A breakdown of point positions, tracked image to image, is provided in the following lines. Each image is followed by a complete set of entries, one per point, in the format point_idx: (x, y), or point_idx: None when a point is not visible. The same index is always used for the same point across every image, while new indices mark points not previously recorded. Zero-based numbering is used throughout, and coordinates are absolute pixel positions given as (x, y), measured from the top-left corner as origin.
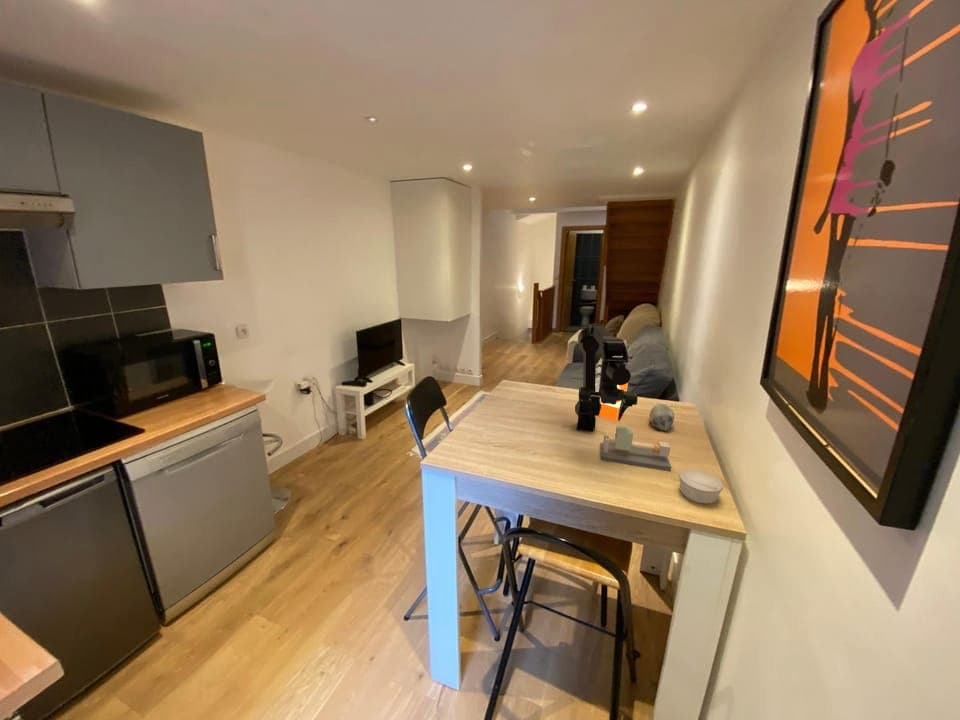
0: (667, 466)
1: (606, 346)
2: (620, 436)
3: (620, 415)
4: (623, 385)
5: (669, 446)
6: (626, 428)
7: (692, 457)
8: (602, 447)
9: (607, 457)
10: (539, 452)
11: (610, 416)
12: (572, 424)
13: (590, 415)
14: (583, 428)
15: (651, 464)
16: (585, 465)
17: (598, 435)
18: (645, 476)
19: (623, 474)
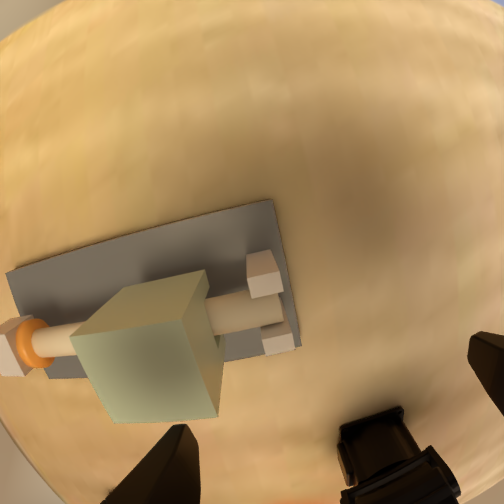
0: (12, 271)
1: None
2: (163, 307)
3: (147, 473)
4: None
5: None
6: (137, 402)
7: (11, 384)
8: (283, 302)
9: (237, 207)
10: (493, 148)
11: None
12: (413, 427)
13: (498, 337)
14: (380, 421)
15: (52, 258)
16: (325, 114)
17: (316, 415)
18: (68, 171)
19: (146, 128)
